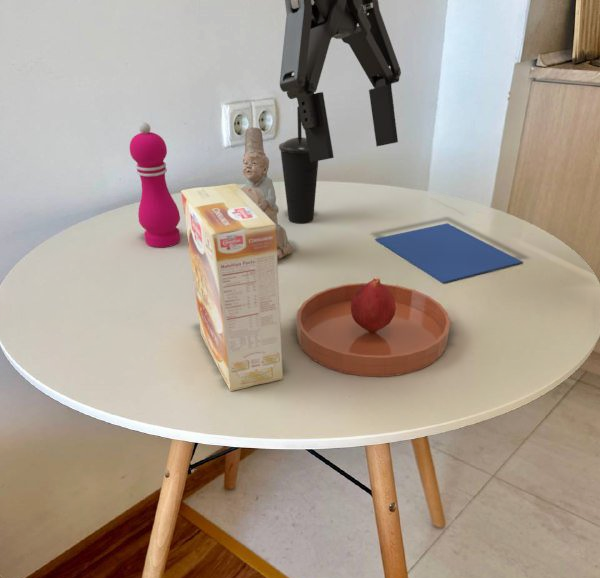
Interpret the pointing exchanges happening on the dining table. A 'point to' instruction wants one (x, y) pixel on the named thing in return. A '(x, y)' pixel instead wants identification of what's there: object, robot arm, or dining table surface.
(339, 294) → the bowl
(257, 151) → the figurine
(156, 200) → the pepper mill
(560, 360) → the dining table surface
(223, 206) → the coffeecake box
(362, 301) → the onion
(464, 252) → the blue cloth
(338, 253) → the dining table surface
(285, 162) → the drinking cup
